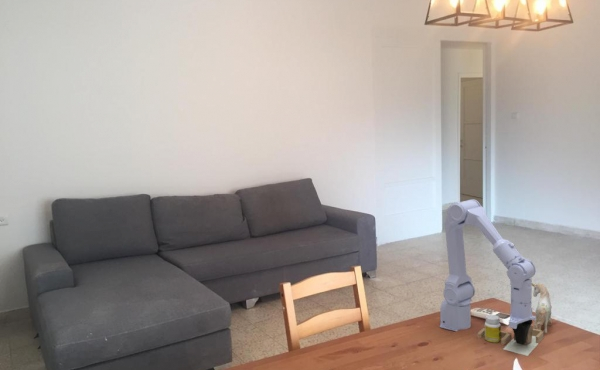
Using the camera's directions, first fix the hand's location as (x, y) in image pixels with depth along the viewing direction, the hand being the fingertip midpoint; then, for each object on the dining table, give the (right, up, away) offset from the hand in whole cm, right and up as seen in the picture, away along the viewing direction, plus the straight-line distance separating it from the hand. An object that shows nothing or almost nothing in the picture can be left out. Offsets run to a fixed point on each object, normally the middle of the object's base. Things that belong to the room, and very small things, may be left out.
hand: (520, 343), depth 151 cm
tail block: (+2, 0, +2) cm, 3 cm away
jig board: (-2, -1, +6) cm, 7 cm away
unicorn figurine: (+11, 0, +16) cm, 19 cm away
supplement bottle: (-6, -2, +6) cm, 9 cm away
